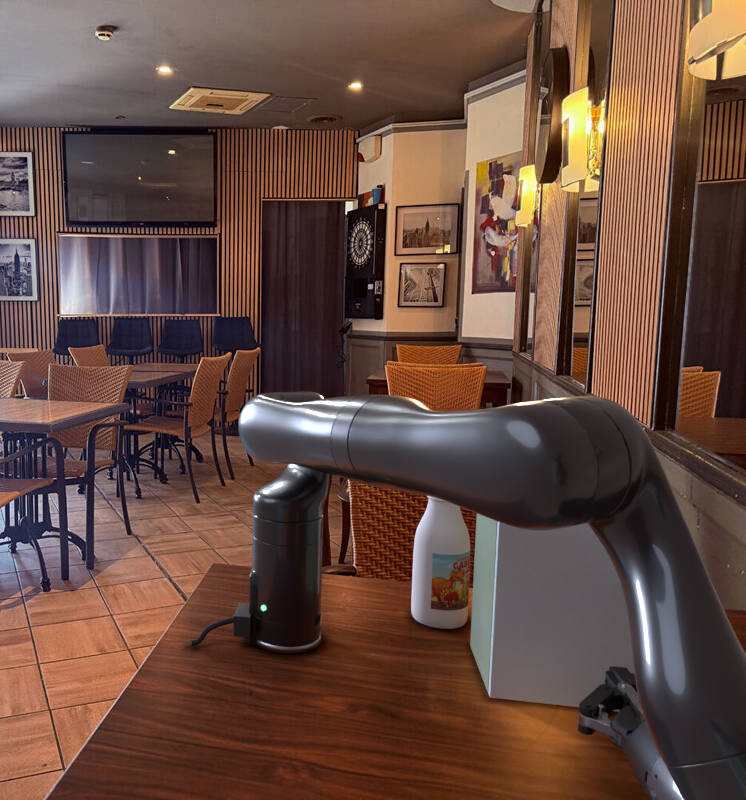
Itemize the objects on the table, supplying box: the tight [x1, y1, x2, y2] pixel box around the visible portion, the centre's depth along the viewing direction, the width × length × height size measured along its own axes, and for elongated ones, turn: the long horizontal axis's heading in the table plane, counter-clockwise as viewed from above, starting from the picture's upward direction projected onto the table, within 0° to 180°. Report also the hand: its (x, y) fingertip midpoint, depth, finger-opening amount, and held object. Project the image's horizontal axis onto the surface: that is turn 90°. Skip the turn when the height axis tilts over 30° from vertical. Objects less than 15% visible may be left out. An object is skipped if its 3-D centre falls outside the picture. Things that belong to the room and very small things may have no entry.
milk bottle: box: [410, 496, 471, 630], centre depth 98 cm, size 8×8×20 cm
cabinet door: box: [487, 522, 634, 713], centre depth 73 cm, size 6×16×22 cm, turn 78°
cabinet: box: [469, 513, 498, 693], centre depth 82 cm, size 12×16×22 cm
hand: (616, 675), depth 69 cm, fingers closed
